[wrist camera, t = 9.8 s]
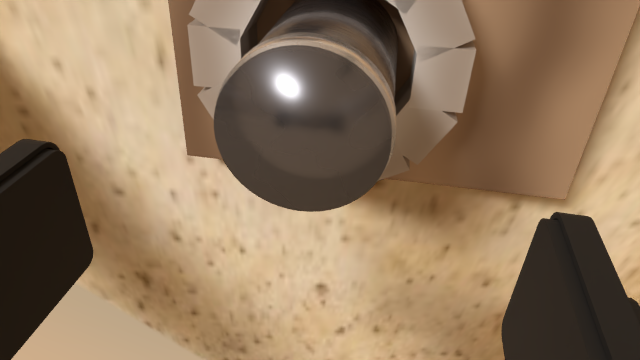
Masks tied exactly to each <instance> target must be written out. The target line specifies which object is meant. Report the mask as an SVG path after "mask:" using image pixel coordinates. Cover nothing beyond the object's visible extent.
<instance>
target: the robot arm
mask: <svg viewBox="0 0 640 360" xmlns="http://www.w3.org/2000/svg"><path fill="white" fill-rule="evenodd" d="M92 258H93V247H92V244H91V241H90V237H89V234H88V230H87V227H86V223H85V220H84V217H83V213H82V210H81V206H80V203H79V200H78V196H77V193H76V189H75V186H74V183H73V179H72V176H71V172H70V169H69V165H68V162H67V159H66V156H65V154H64V153H63V152H61V151H60V150H59V148H58V147H57V146H56V145H55V144H54V143H51V142H45V141H37V140H30V139H22V140H20V141H18V142H17V143H15V144H14V145H12V146H11V147H9V148H8V149H6V150H5V151H4V152H2V153H1V154H0V360H11V359H12V358H13V356H14V355H15V354H16V353H17V352H18V350H19V349H20V348H21V347H22V346H23V345H24V343H25V342H26V341H27V340H28V339H29V337H30V336H31V335H32V334H33V333H34V331H35V330H36V329H37V328H38V326H39V325H40V324H41V323H42V322H43V320H44V319H45V318H46V317H47V316H48V314H49V313H50V312H51V311H52V310H53V309H54V307H55V306H56V305H57V304H58V303H59V301H60V300H61V299H62V298H63V296H64V295H65V294H66V293H67V292H68V291H69V289H70V288H71V287H72V286H73V285H74V283H75V282H76V281H77V280H78V279H79V277H80V276H81V275H82V274H83V273H84V271H85V270H86V269H87V268H88V266H89V265H90V263H91V261H92ZM502 342H503V349H504V356H505V360H640V306H639V304H638V303H637V302H636V301H635V300H633V299H632V298H628V297H627V295H626V293H625V290H624V288H623V286H622V284H621V281H620V279H619V277H618V275H617V272H616V270H615V268H614V266H613V263H612V261H611V259H610V257H609V255H608V252H607V250H606V248H605V246H604V243H603V241H602V239H601V237H600V234H599V232H598V230H597V228H596V225H595V223H594V221H593V220H592V218H591V217H589V216H582V215H575V214H567V213H560V212H556V213H554V214H553V215H552V216H551V218H550V219H545V218H543V219H541V220H540V221H539V224H538V226H537V229H536V231H535V234H534V237H533V239H532V242H531V245H530V248H529V250H528V253H527V256H526V258H525V261H524V264H523V267H522V269H521V272H520V275H519V277H518V280H517V283H516V286H515V288H514V291H513V294H512V296H511V299H510V302H509V304H508V307H507V310H506V313H505V315H504V318H503V323H502Z"/></svg>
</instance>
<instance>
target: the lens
mask: <svg viewBox="0 0 640 360" xmlns="http://www.w3.org/2000/svg"><path fill="white" fill-rule="evenodd" d="M397 53H398V39H397V34H396V29H395V26H394V24H393V21H392V19H391V17H390V15H389V14H388V12H387V11H386V9H385V8H384V7H383V6H382V5H381V4H380V2H378V1H377V0H295V2H294V3H293V4H292V5H291V6H290V7H289V8H288V9H287V11H286V12H285V13H284V14H283V15H282V17H281V18H280V19H279V20H278V21H277V22H276V24H275V25H274V26H273V27H272V28H271V30H270V31H269V32H268V33H267V34H266V35H265V37H264V38H263V39H262V40H261V41H260V43H259V44H258V45H257V46H255V47H254V48H252V49H251V50H250V51H249V52H247V53H246V54H245V55H244V56H243V57H242V59H241V60H240V61H239V62H238V63H237V64H236V65H235V66H234V68H233V69H232V70H231V71H230V72H229V74H228V75H227V77H226V78H225V80H224V82H223V84H222V86H221V88H220V90H219V94H218V97H217V100H216V106H215V112H214V133H215V139H216V143H217V146H218V149H219V152H220V154H221V156H222V158H223V160H224V162H225V164H226V165H227V167H228V168H229V170H230V171H231V172H232V174H233V175H234V176H235V177H236V178H237V179H238V180H239V182H240V183H241V184H243V185H244V186H245V187H246V188H247V189H248V190H250V191H251V192H253V193H254V194H255V195H257V196H258V197H260V198H262V199H264V200H266V201H268V202H270V203H272V204H275V205H277V206H280V207H284V208H287V209H292V210H297V211H309V212H310V211H325V210H331V209H335V208H339V207H342V206H344V205H347V204H349V203H351V202H353V201H355V200H357V199H358V198H360V197H361V196H363V195H364V194H365V193H367V192H368V191H369V190H370V189H371V188H372V187H373V186H374V185H375V183H376V182H377V181H378V180H379V178H380V177H381V175H382V173H383V172H384V170H385V169H386V167H387V165H388V163H389V161H390V159H391V156H392V153H393V149H394V145H395V136H396V107H395V103H394V97H395V83H396V68H397Z"/></svg>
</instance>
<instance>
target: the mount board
mask: <svg viewBox="0 0 640 360" xmlns="http://www.w3.org/2000/svg"><path fill="white" fill-rule="evenodd" d="M377 1H378V2H380V4H381V5H382V6H383V7H384V8H385V9H386V11H387V12H388V14H389V15H390V17H391V19H392V21H393V24H394V26H395V29H396V34H397V39H398V53H397V68H396V83H395V97H394V103H395V107H396V136H395V145H394V149H393V153H392V156H391V159H390V161H389V163H388V165H387V167H386V169H385V170H384V172H383V173H382V175H381V177H380V178H379V180H382V179H385V178H386V179H395V180H403V181H412V182H420V183H429V184H437V185H446V186H454V187H463V188H471V189H480V190H488V191H497V192H505V193H514V194H522V195H531V196H539V197H548V198H556V199H565V198H566V195H567V193H568V190H569V188H570V185H571V182H572V180H573V177H574V175H575V172H576V170H577V167H578V164H579V162H580V159H581V157H582V154H583V151H584V149H585V146H586V144H587V141H588V139H589V136H590V133H591V131H592V128H593V126H594V123H595V120H596V118H597V115H598V113H599V110H600V108H601V105H602V102H603V100H604V97H605V95H606V92H607V89H608V87H609V84H610V82H611V79H612V77H613V74H614V71H615V69H616V66H617V64H618V61H619V58H620V56H621V53H622V51H623V48H624V46H625V43H626V40H627V38H628V35H629V33H630V30H631V27H632V25H633V22H634V20H635V17H636V15H637V12H638V9H639V7H640V0H377ZM294 2H295V0H168V3H169V11H170V19H171V27H172V35H173V43H174V51H175V59H176V67H177V75H178V83H179V91H180V99H181V107H182V115H183V123H184V131H185V139H186V147H187V155H190V156H199V157H207V158H216V159H223V158H222V156H221V154H220V152H219V149H218V146H217V143H216V139H215V133H214V112H215V106H216V100H217V97H218V94H219V90H220V88H221V86H222V84H223V82H224V80H225V78H226V77H227V75H228V74H229V72H230V71H231V70H232V69H233V68H234V66H235V65H236V64H237V63H238V62H239V61H240V60H241V59H242V57H243V56H244V55H245V54H246V53H247V52H249V51H250V50H251V49H252V48H254V47H255V46H257V45H258V44H259V43H260V41H261V40H262V39H263V38H264V37H265V35H266V34H267V33H268V32H269V31H270V30H271V28H272V27H273V26H274V25H275V24H276V22H277V21H278V20H279V19H280V18H281V17H282V15H283V14H284V13H285V12H286V11H287V9H288V8H289V7H290V6H291V5H292V4H293V3H294ZM379 180H378V181H379Z"/></svg>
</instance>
